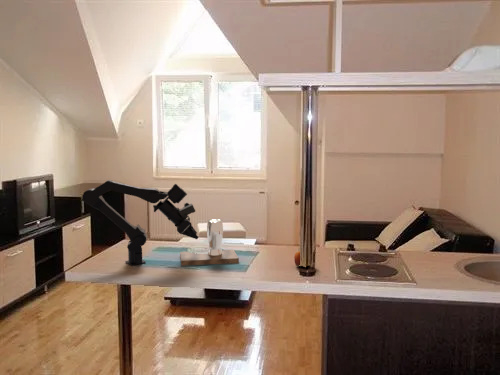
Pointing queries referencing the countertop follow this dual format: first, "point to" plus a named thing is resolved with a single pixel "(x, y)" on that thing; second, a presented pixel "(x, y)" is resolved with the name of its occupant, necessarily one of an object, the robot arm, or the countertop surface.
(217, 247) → the beer glass
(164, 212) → the robot arm
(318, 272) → the countertop surface
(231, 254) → the walnut board
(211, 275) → the countertop surface
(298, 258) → the fruit
